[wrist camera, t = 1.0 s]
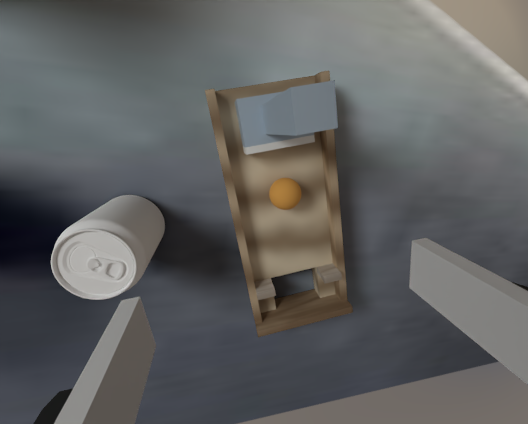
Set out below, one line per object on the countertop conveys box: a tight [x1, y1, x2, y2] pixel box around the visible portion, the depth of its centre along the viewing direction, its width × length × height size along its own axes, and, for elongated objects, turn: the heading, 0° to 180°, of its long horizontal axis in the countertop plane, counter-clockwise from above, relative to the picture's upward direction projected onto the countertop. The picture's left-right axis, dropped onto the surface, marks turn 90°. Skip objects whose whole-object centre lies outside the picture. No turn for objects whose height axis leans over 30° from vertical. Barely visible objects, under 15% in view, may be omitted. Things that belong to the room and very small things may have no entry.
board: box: [205, 71, 353, 337], centre depth 35 cm, size 32×14×6 cm, turn 10°
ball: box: [269, 178, 301, 210], centre depth 33 cm, size 4×4×4 cm
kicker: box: [235, 80, 338, 155], centre depth 25 cm, size 6×8×15 cm
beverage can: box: [51, 195, 165, 300], centre depth 30 cm, size 8×8×12 cm
